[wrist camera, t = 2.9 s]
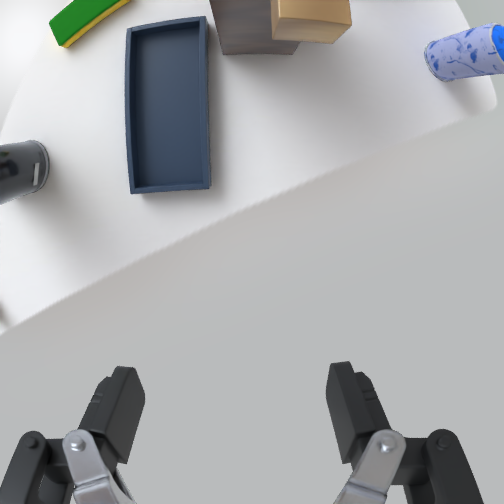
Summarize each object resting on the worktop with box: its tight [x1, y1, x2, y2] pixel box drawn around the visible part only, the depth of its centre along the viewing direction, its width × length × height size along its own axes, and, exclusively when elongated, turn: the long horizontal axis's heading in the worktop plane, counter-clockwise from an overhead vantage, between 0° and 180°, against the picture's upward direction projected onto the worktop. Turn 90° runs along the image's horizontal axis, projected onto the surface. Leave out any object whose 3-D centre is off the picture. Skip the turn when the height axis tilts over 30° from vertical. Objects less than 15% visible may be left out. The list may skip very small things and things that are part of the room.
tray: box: [125, 16, 211, 194], centre depth 37 cm, size 12×26×3 cm, turn 1°
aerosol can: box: [424, 23, 504, 82], centre depth 25 cm, size 8×8×20 cm
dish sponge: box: [49, 0, 130, 48], centre depth 29 cm, size 7×14×2 cm, turn 119°
